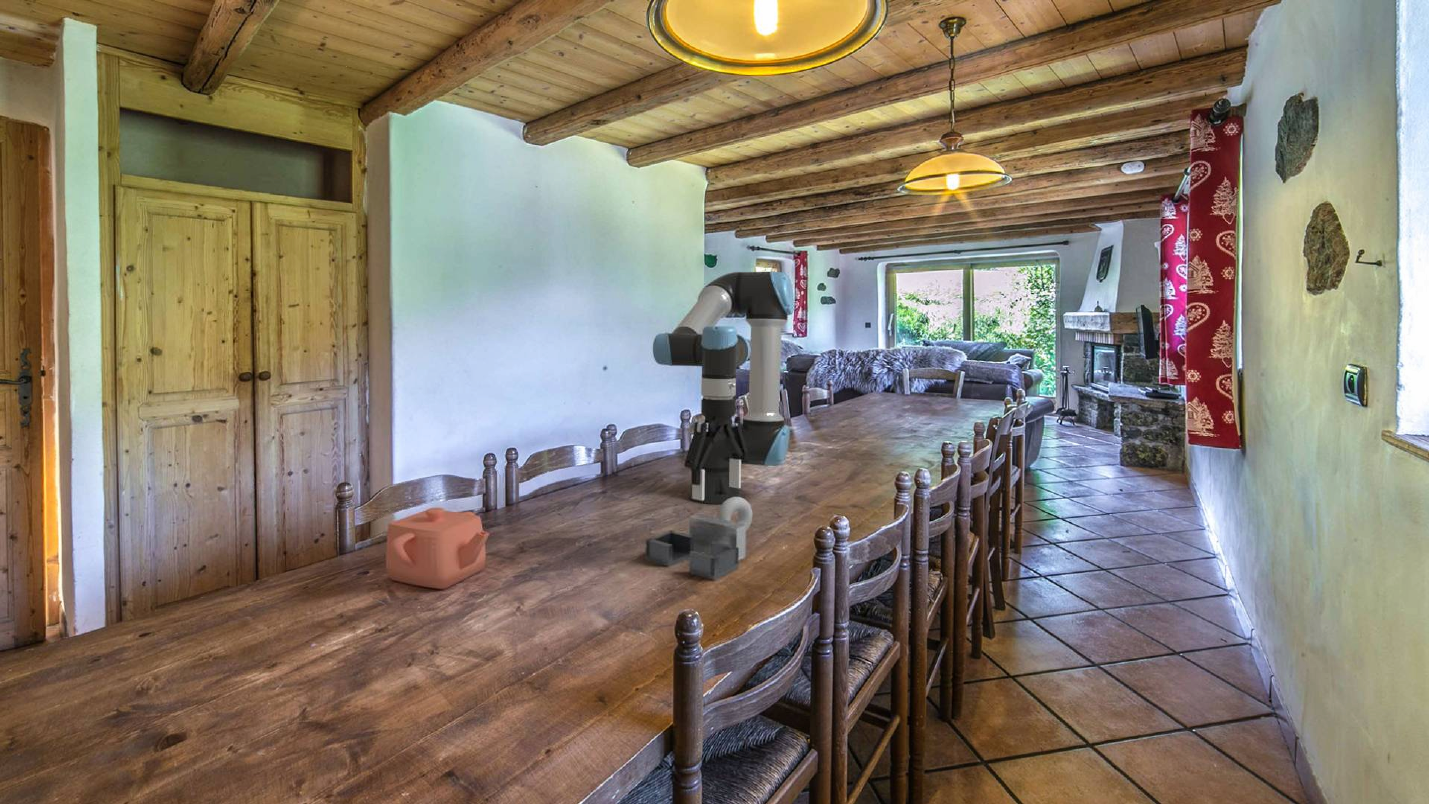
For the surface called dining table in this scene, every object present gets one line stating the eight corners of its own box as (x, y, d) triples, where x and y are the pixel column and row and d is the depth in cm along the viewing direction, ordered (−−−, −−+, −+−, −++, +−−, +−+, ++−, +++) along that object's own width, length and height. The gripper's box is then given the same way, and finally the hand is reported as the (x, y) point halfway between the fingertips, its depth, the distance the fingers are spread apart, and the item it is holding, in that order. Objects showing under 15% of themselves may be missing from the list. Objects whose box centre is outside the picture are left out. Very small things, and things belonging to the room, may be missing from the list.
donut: (721, 543, 158) (721, 501, 157) (712, 539, 161) (713, 498, 160) (755, 535, 164) (755, 495, 163) (746, 532, 167) (747, 492, 165)
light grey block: (698, 545, 157) (699, 513, 156) (745, 557, 150) (745, 524, 149) (689, 549, 154) (689, 517, 153) (736, 562, 147) (736, 528, 146)
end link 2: (714, 561, 146) (714, 541, 146) (738, 568, 143) (738, 547, 142) (689, 573, 140) (689, 552, 139) (714, 580, 136) (714, 559, 135)
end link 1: (671, 549, 154) (671, 530, 153) (693, 555, 150) (693, 536, 149) (646, 560, 147) (646, 540, 146) (668, 567, 143) (668, 546, 143)
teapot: (364, 590, 130) (360, 520, 128) (447, 553, 150) (444, 492, 148) (446, 607, 123) (443, 533, 121) (522, 566, 143) (520, 502, 141)
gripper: (696, 403, 135) (695, 507, 138) (764, 394, 155) (762, 485, 158) (667, 400, 140) (667, 501, 142) (737, 391, 160) (735, 480, 162)
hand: (717, 493), depth 150 cm, fingers open, 13 cm apart
